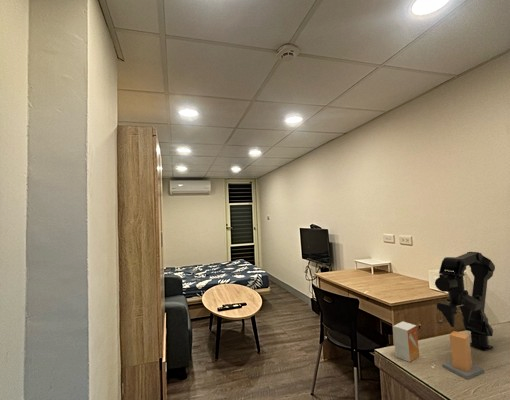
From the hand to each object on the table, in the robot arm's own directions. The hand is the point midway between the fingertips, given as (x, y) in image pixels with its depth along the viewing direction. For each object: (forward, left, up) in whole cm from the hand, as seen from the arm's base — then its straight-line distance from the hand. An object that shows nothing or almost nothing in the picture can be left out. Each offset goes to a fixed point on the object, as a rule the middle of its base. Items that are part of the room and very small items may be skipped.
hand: (459, 324), depth 113 cm
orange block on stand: (+10, +6, -12) cm, 17 cm away
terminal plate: (+10, +6, -13) cm, 17 cm away
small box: (+20, -10, -13) cm, 26 cm away
